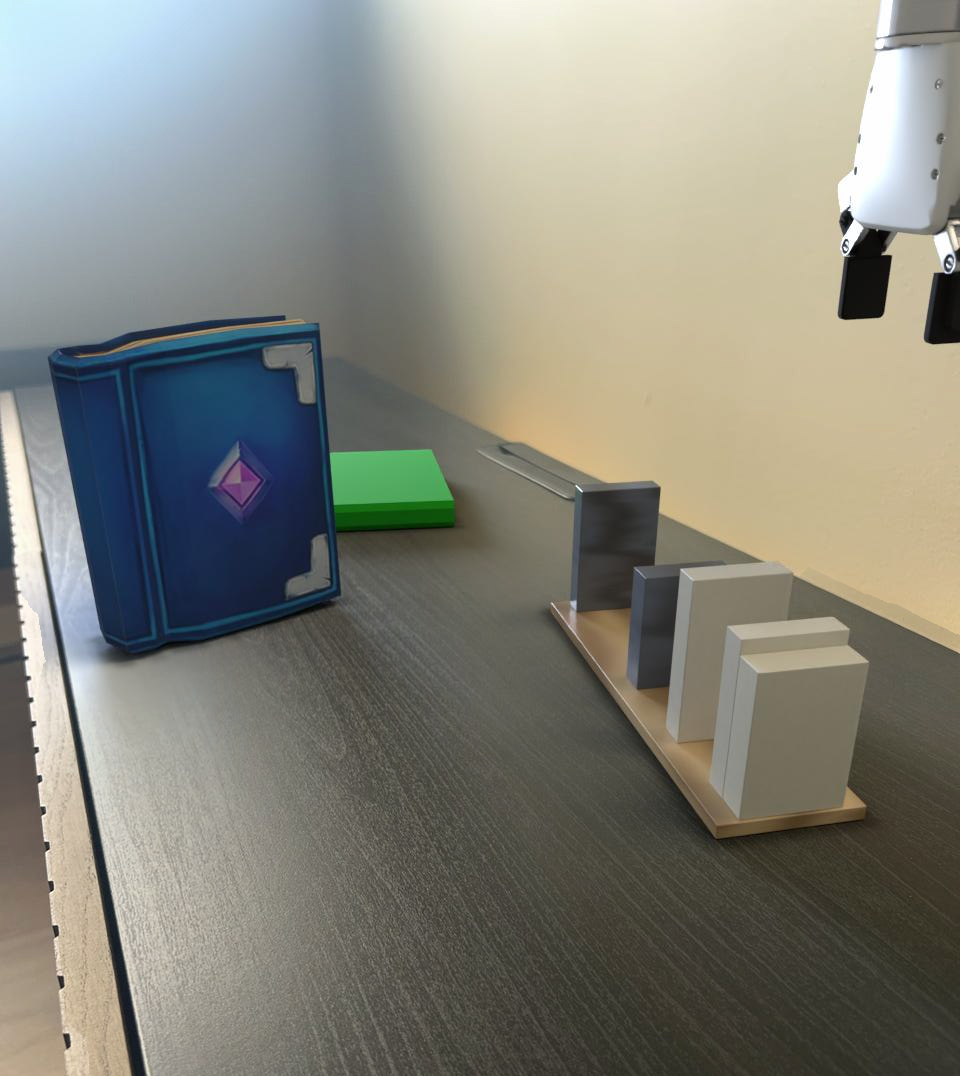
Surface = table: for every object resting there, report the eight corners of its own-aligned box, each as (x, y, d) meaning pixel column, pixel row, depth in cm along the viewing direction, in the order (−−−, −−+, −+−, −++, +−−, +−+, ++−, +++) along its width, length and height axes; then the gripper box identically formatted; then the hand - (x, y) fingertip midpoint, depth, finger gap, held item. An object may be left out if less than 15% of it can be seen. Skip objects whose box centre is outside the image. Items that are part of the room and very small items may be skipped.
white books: (808, 770, 69) (833, 616, 65) (843, 807, 65) (872, 646, 61) (708, 782, 68) (726, 625, 63) (739, 820, 64) (760, 656, 59)
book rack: (655, 603, 97) (665, 476, 92) (864, 819, 66) (898, 645, 61) (550, 612, 95) (555, 483, 90) (715, 839, 64) (737, 661, 59)
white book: (757, 718, 76) (778, 560, 71) (771, 733, 74) (794, 572, 69) (665, 728, 74) (680, 568, 69) (677, 744, 72) (693, 580, 67)
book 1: (116, 669, 84) (67, 348, 74) (83, 640, 89) (32, 335, 79) (346, 603, 97) (332, 320, 86) (306, 581, 102) (287, 311, 91)
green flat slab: (208, 480, 133) (206, 456, 131) (431, 472, 137) (431, 449, 135) (192, 539, 112) (189, 512, 111) (454, 527, 116) (454, 501, 115)
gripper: (1120, 1, 53) (1048, 349, 60) (917, 32, 68) (879, 308, 76) (988, 0, 52) (930, 357, 59) (810, 33, 67) (782, 313, 74)
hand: (901, 329), depth 67 cm, fingers open, 9 cm apart
